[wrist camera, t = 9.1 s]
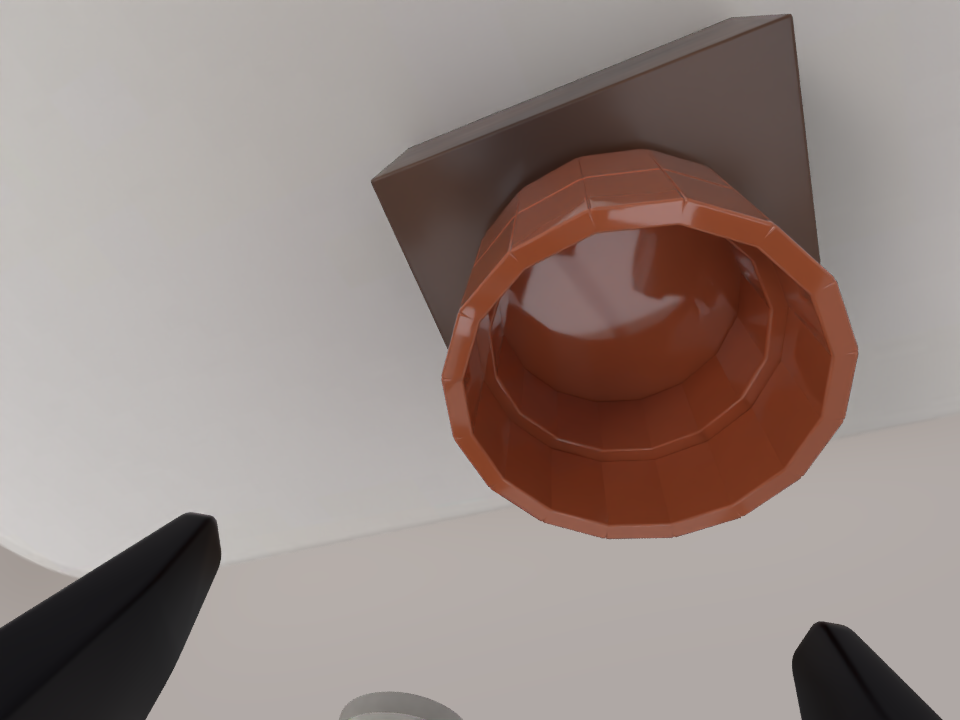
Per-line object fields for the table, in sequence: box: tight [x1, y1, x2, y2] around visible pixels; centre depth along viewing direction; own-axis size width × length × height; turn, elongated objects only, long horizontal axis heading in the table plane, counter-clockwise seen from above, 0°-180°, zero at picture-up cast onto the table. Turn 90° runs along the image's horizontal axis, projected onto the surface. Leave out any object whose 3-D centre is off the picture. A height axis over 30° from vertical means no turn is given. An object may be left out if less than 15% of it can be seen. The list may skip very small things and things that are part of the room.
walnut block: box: [371, 14, 820, 349], centre depth 15 cm, size 9×9×4 cm
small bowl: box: [441, 149, 858, 539], centre depth 12 cm, size 7×7×4 cm
